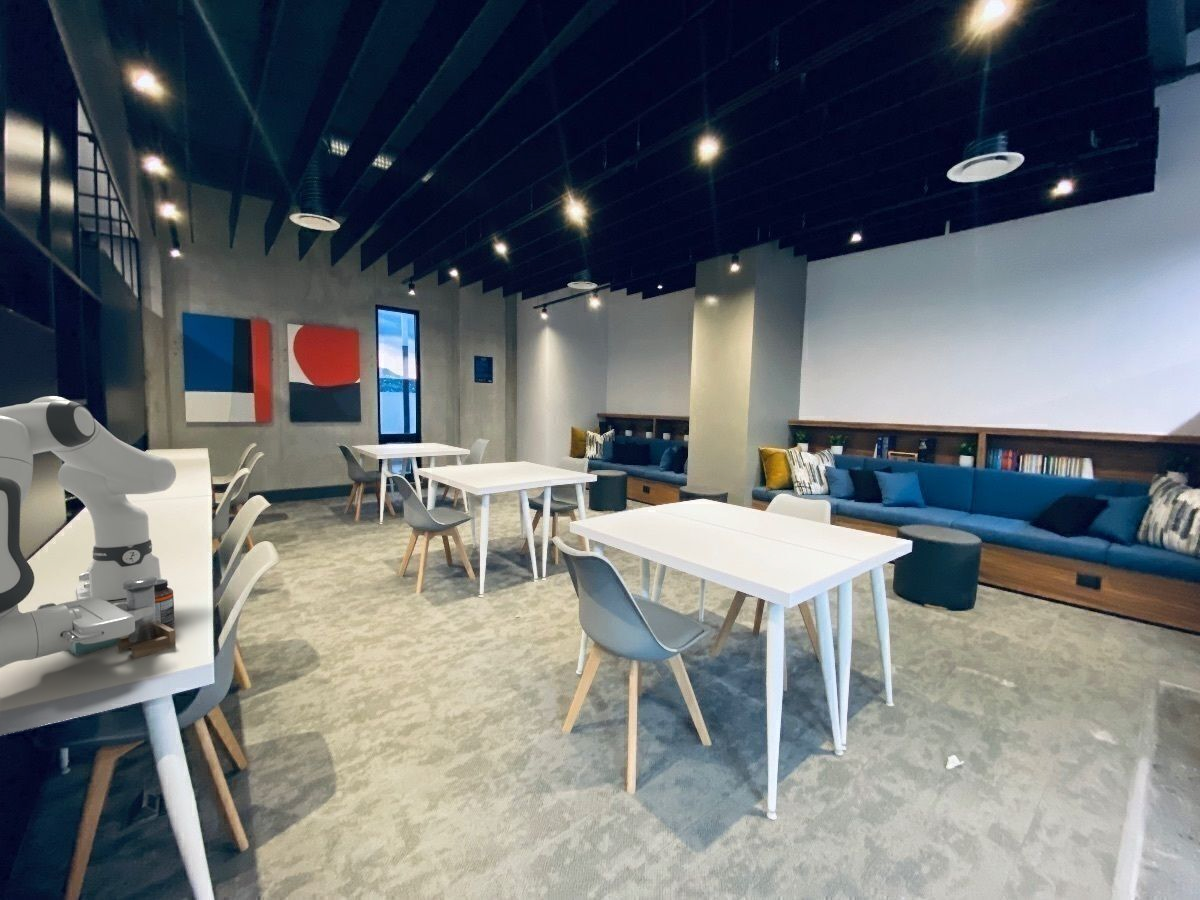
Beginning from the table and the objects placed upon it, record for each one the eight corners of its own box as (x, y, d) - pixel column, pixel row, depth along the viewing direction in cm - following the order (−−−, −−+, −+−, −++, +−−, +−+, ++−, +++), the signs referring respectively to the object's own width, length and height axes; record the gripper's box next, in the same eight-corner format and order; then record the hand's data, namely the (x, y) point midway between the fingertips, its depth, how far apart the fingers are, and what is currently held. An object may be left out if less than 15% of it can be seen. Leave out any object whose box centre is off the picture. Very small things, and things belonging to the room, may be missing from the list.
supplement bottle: (135, 631, 116) (132, 584, 115) (165, 621, 122) (163, 576, 121) (150, 635, 114) (148, 587, 113) (180, 625, 120) (178, 579, 119)
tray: (60, 643, 110) (59, 631, 110) (124, 626, 119) (123, 615, 119) (76, 655, 104) (75, 643, 104) (141, 636, 114) (141, 625, 113)
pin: (121, 639, 107) (118, 582, 106) (153, 630, 111) (151, 575, 111) (130, 645, 104) (128, 586, 103) (163, 635, 109) (161, 579, 108)
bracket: (118, 648, 108) (118, 632, 108) (158, 636, 114) (158, 621, 113) (134, 658, 103) (134, 642, 103) (175, 646, 109) (174, 630, 109)
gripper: (70, 625, 91) (166, 602, 103) (37, 603, 101) (128, 584, 113) (72, 659, 91) (167, 631, 103) (39, 633, 101) (129, 611, 113)
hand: (146, 606), depth 108 cm, fingers closed on pin, 4 cm apart
